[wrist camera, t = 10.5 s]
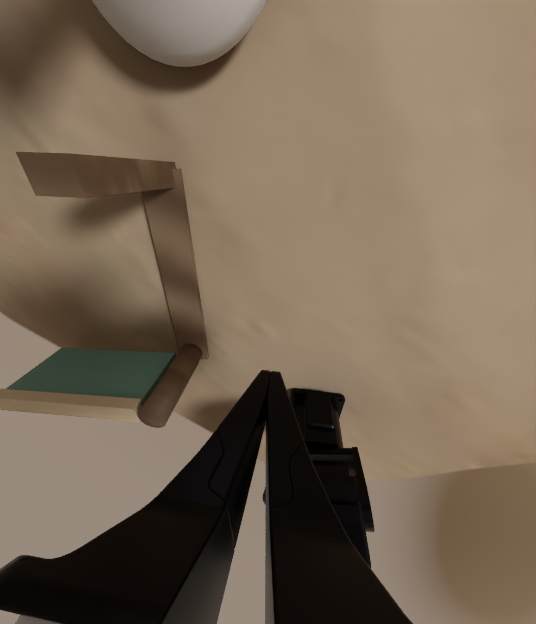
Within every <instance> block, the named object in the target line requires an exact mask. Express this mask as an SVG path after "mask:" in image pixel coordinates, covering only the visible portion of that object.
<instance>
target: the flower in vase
mask: <svg viewBox="0 0 536 624" xmlns="http://www.w3.org/2000/svg"><path fill="white" fill-rule="evenodd" d="M92 1H93V3H94V4H95V6H96V7H97V9H98V10H99V12H100V13H101V14H102V16H103V17H104V18H105V19H106V20H107V22H108V23H109V24H110V25H111V26H112V28H113V29H114V30H115V31H116V32H117V33H118V34H119V35H120V36H121V37H122V38H123V39H124V40H125V41H126V42H128V43H129V44H130V45H131V46H133V47H134V48H135V49H137V50H138V51H139V52H141V53H143V54H144V55H146V56H148V57H149V58H151V59H153V60H156V61H158V62H161V63H164V64H167V65H172V66H177V67H193V66H198V65H203V64H206V63H208V62H211V61H213V60H216V59H217V58H219V57H220V56H222V55H224V54H225V53H227V52H228V51H229V50H230V49H231V48H233V47H234V46H235V45H236V44H237V43H238V42H239V41H240V40H241V39H242V38H243V37H244V35H245V34H246V33H247V32H248V31H249V29H250V28H251V27H252V25H253V23H254V22H255V20H256V19H257V17H258V16H259V14H260V13H261V11H262V9H263V7H264V5H265V3H266V1H267V0H92Z"/></svg>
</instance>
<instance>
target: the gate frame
mask: <svg viewBox="0 0 536 624" xmlns="http://www.w3.org/2000/svg"><path fill="white" fill-rule="evenodd" d="M16 154H17V156H18V158H19V160H20V162H21V165H22V167H23V169H24V171H25V173H26V175H27V178H28V180H29V182H30V184H31V186H32V188H33V191H34V193H35V195H36V196H54V197H74V198H89V197H98V196H107V195H115V194H124V193H132V192H141V191H142V196H143V200H144V204H145V208H146V212H147V217H148V221H149V225H150V229H151V233H152V238H153V242H154V246H155V250H156V254H157V259H158V263H159V267H160V271H161V275H162V280H163V284H164V288H165V292H166V297H167V301H168V305H169V309H170V313H171V318H172V322H173V326H174V330H175V334H176V339H177V343H178V347H179V351H180V352H179V353H178V355H177V356H176V358H175V359H174V361H173V362H172V364H171V365H170V367H169V368H168V370H167V371H166V373H165V374H164V376H163V377H162V379H161V380H160V381H159V383H158V384H157V386H156V387H155V389H154V390H153V392H152V393H151V395H150V396H149V398H148V399H147V401H146V402H145V404H144V405H143V407H142V408H141V410H140V411H139V412H138V418H139V419H140V420H141V421H142V422H143V423H145V424H146V425H148V426H151V427H156V428H160V427H163V426H165V424H166V422H167V420H168V419H169V417H170V415H171V413H172V411H173V409H174V408H175V406H176V404H177V402H178V400H179V398H180V396H181V395H182V393H183V391H184V389H185V387H186V385H187V383H188V381H189V380H190V378H191V376H192V374H193V372H194V370H195V368H196V367H197V365H198V363H199V361H200V359H206V360H207V359H208V357H209V354H208V347H207V341H206V334H205V327H204V320H203V314H202V307H201V300H200V294H199V287H198V280H197V273H196V267H195V260H194V253H193V246H192V240H191V233H190V226H189V219H188V213H187V206H186V199H185V192H184V186H183V179H182V172H181V169H176V166H175V162H165V161H153V160H141V159H129V158H117V157H105V156H92V155H80V154H67V153H34V152H16Z"/></svg>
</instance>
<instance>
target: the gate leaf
mask: <svg viewBox="0 0 536 624" xmlns="http://www.w3.org/2000/svg"><path fill="white" fill-rule="evenodd" d="M175 358H176V353H175V352H150V351H126V350H101V349H76V348H61V349H60V350H58V351H57V352H56V353H54V354H53V355H51V356H50V357H49V358H47V359H46V360H45V361H43V362H42V363H40V364H39V365H38V366H36V367H35V368H34V369H32V370H31V371H30V372H28V373H27V374H25V375H24V376H23V377H21V378H20V379H19V380H17V381H16V382H15V383H13V384H12V385H11V386H9V387H8V388H7V389H0V409H2V410H9V411H21V412H32V413H44V414H56V415H66V416H78V417H90V418H101V419H113V420H124V421H135V422H141V420H140V419H139V418H138V412H139V411H140V410H141V408H142V407H143V405H144V404H145V402H146V401H147V399H148V398H149V396H150V395H151V393H152V392H153V390H154V389H155V387H156V386H157V384H158V383H159V381H160V380H161V379H162V377H163V376H164V374H165V373H166V371H167V370H168V368H169V367H170V365H171V364H172V362H173V361H174V359H175Z"/></svg>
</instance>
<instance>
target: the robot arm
mask: <svg viewBox="0 0 536 624" xmlns="http://www.w3.org/2000/svg"><path fill="white" fill-rule="evenodd" d="M344 402H345V397H344V396H343V395H340V394H332V393H324V392H315V391H307V390H299V389H293V390H291V396H290V399H289V396H288V393H287V390H286V387H285V384H284V381H283V379H282V376H281V373H280V372H276V371H271V372H270V371H267V370H262V371H260V373H259V374H258V375H257V377H256V378H255V379H254V381H253V382H252V383H251V385H250V386H249V387H248V389H247V390H246V391H245V393H244V394H243V395H242V396H241V398H240V399H239V400H238V402H237V403H236V404H235V406H234V407H233V408H232V410H231V411H230V412H229V414H228V415H227V416H226V418H225V419H224V420H223V421H222V423H221V424H220V425H219V427H218V428H217V430H216V431H215V432H214V433H213V434H212V436H211V437H210V438H209V440H208V441H207V442H206V444H205V445H204V446H203V447H202V448H201V450H200V451H199V452H198V453H197V454H196V455H195V456H194V457H193V459H192V460H191V461H190V462H189V463H188V464H187V465H186V466H185V467H184V468H183V469H182V470H181V471H180V472H179V473H178V475H177V476H176V477H175V478H174V479H173V480H172V481H171V482H170V483H169V484H168V485H167V486H166V487H165V488H164V489H163V491H161V492H160V494H159V495H158V496H157V497H155V498H154V499H153V500H152V501H151V502H150V503H149V504H147V505H146V506H145V507H143V508H142V509H141V510H139V511H138V512H136V513H134V514H133V515H131V516H130V517H128V518H127V519H125V520H123V521H122V522H120V523H118V524H117V525H115V526H114V527H112V528H110V529H109V530H107V531H106V532H104V533H102V534H101V535H99V536H98V537H96V538H95V539H93V540H92V541H90V542H88V543H87V544H85V545H83V546H82V547H80V548H78V549H77V550H75V551H73V552H71V553H69V554H66V555H64V556H62V557H58V558H54V559H44V558H40V557H34V556H28V555H21V556H18V557H17V558H15V559H14V560H13V561H11V562H10V563H8V564H7V565H6V566H4V567H3V568H1V569H0V610H3V611H7V612H12V613H16V614H20V617H19V618H18V620H17V622H16V623H15V624H217V620H218V616H219V611H220V607H221V603H222V599H223V595H224V591H225V586H226V583H227V579H228V574H229V571H230V566H231V562H232V558H233V554H234V548H235V545H236V542H237V538H238V533H239V529H240V525H241V521H242V517H243V513H244V509H245V505H246V501H247V497H248V492H249V488H250V484H251V480H252V476H253V472H254V468H255V464H256V460H257V455H258V451H259V447H260V443H261V439H262V435H263V431H264V427H265V422H266V487H265V490H264V493H263V501H264V503H265V505H266V561H265V562H266V563H265V566H266V567H265V583H266V584H265V592H266V593H265V624H413V623H412V622H411V621H410V620H409V619H408V618H407V617H406V615H405V614H404V613H403V611H402V610H401V609H400V607H399V606H398V605H397V603H396V602H395V601H394V599H393V598H392V597H391V595H390V594H389V593H388V591H387V590H386V589H385V587H384V586H383V585H382V583H381V582H380V581H379V579H378V578H377V577H376V575H375V574H374V573H373V571H372V570H371V561H370V555H369V549H368V543H367V537H366V531H367V532H374V524H373V518H372V512H371V506H370V501H369V496H368V491H367V486H366V482H365V478H364V474H363V469H362V465H361V461H360V457H359V452H358V448H357V447H352V448H343V442H342V436H341V429H340V423H339V417H340V414H341V411H342V408H343V405H344Z"/></svg>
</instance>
